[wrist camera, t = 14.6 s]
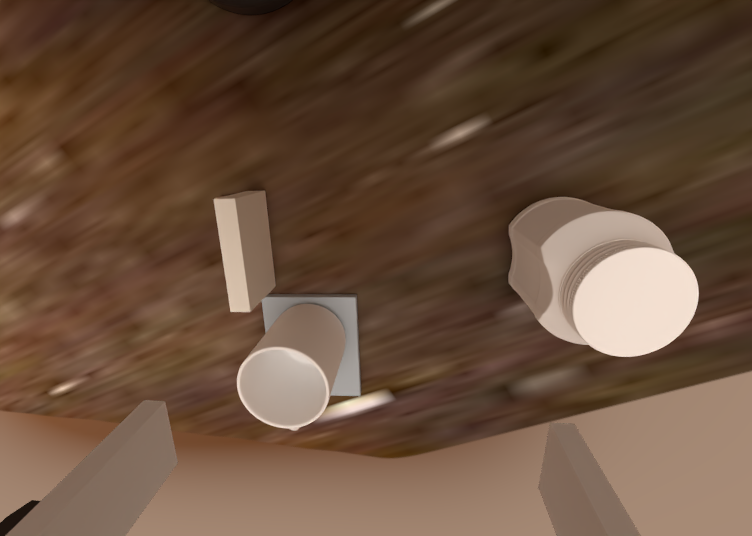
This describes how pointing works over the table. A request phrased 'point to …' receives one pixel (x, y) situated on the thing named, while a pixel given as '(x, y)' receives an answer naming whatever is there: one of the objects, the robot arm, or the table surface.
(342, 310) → the plate
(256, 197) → the beige block
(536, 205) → the jar
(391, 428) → the table surface
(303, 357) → the mug
